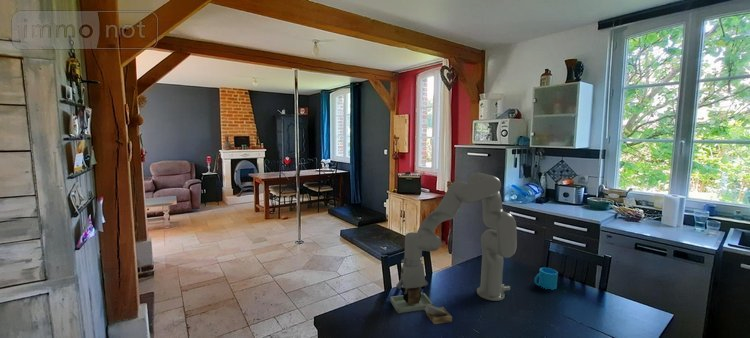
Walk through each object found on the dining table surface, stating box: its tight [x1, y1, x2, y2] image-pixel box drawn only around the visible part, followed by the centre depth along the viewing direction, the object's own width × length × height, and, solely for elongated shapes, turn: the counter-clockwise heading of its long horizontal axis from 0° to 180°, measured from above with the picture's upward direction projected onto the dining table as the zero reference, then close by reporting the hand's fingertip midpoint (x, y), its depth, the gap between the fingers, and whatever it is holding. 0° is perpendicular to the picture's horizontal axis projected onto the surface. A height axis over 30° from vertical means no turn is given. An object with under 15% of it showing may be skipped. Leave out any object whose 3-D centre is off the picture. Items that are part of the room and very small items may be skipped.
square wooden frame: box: [425, 306, 453, 325], centre depth 132 cm, size 8×8×2 cm
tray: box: [389, 292, 435, 314], centre depth 142 cm, size 17×11×2 cm, turn 105°
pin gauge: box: [424, 304, 446, 317], centre depth 132 cm, size 3×3×8 cm
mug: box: [534, 267, 559, 291], centre depth 161 cm, size 12×8×8 cm
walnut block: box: [407, 288, 420, 305], centre depth 142 cm, size 5×5×6 cm
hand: (411, 299), depth 142 cm, fingers closed on walnut block, 5 cm apart
